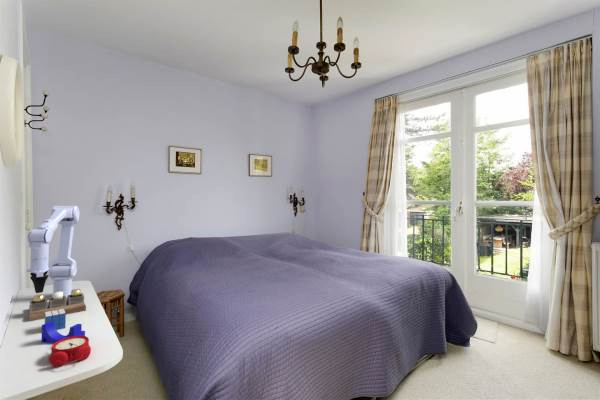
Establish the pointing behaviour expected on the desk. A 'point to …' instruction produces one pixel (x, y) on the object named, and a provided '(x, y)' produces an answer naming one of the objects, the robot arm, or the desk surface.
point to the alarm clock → (69, 350)
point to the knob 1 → (38, 298)
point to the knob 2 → (75, 292)
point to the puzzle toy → (56, 318)
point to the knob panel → (56, 306)
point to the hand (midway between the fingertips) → (38, 290)
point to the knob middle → (57, 295)
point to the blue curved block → (52, 334)
